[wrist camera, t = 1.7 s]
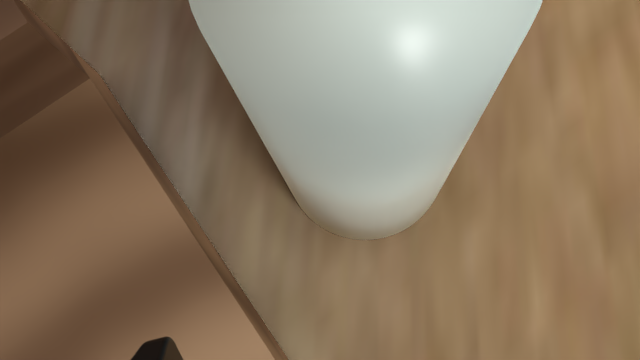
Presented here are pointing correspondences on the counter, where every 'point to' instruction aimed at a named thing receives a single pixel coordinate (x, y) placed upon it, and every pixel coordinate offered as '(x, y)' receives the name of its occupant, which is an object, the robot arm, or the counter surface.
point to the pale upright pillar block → (364, 94)
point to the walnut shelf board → (98, 224)
